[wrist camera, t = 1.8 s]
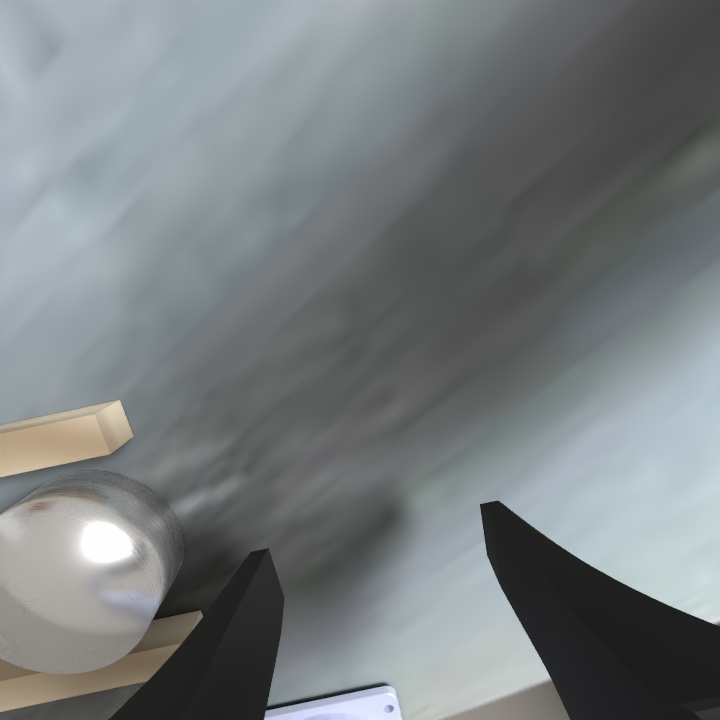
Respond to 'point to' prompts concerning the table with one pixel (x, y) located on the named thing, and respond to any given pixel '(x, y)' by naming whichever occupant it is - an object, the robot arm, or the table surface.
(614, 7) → the table surface
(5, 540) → the aluminium cover
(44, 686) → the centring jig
